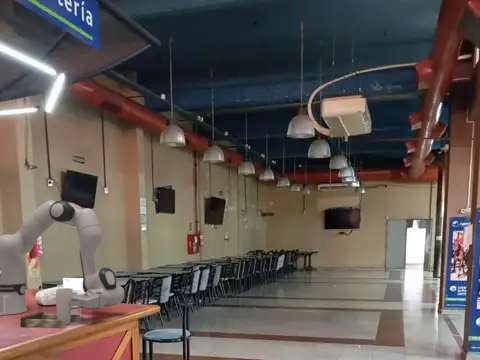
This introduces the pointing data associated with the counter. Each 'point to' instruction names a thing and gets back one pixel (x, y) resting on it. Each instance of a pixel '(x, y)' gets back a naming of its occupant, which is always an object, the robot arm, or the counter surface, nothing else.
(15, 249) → the robot arm
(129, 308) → the counter surface
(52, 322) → the brown compartment tray
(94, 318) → the counter surface
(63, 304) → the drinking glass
